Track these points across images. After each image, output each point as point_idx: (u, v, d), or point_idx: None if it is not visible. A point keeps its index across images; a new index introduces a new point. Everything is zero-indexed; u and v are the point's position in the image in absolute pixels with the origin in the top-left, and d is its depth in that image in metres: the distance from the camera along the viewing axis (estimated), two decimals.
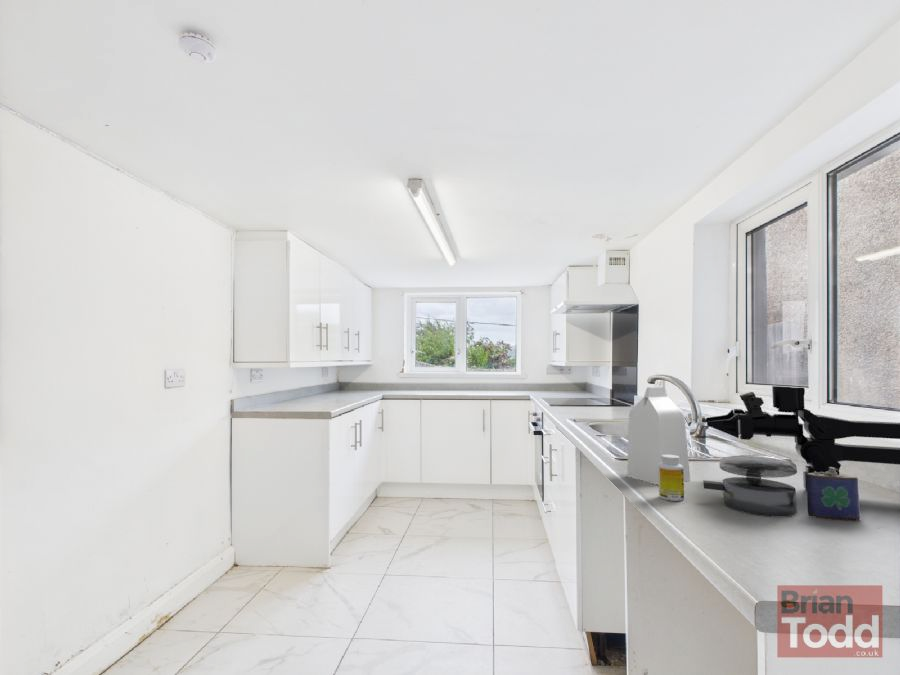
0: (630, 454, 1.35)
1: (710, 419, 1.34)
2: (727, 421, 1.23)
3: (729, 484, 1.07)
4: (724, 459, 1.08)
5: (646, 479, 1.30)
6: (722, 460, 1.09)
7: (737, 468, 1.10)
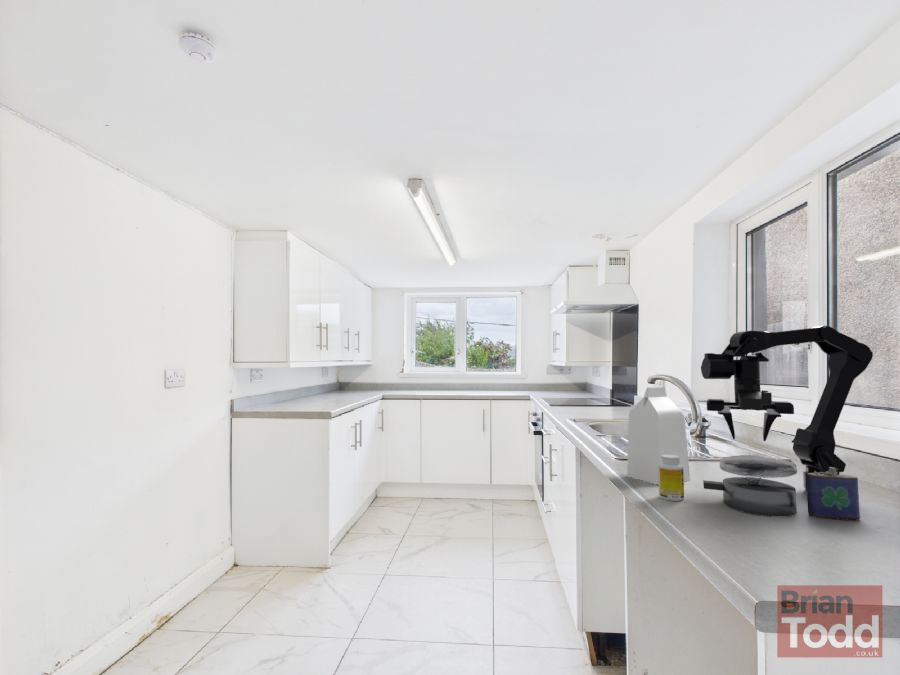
0: (630, 454, 1.35)
1: (734, 434, 1.22)
2: None
3: (729, 484, 1.07)
4: (724, 459, 1.08)
5: (646, 479, 1.30)
6: (722, 460, 1.09)
7: (737, 468, 1.10)
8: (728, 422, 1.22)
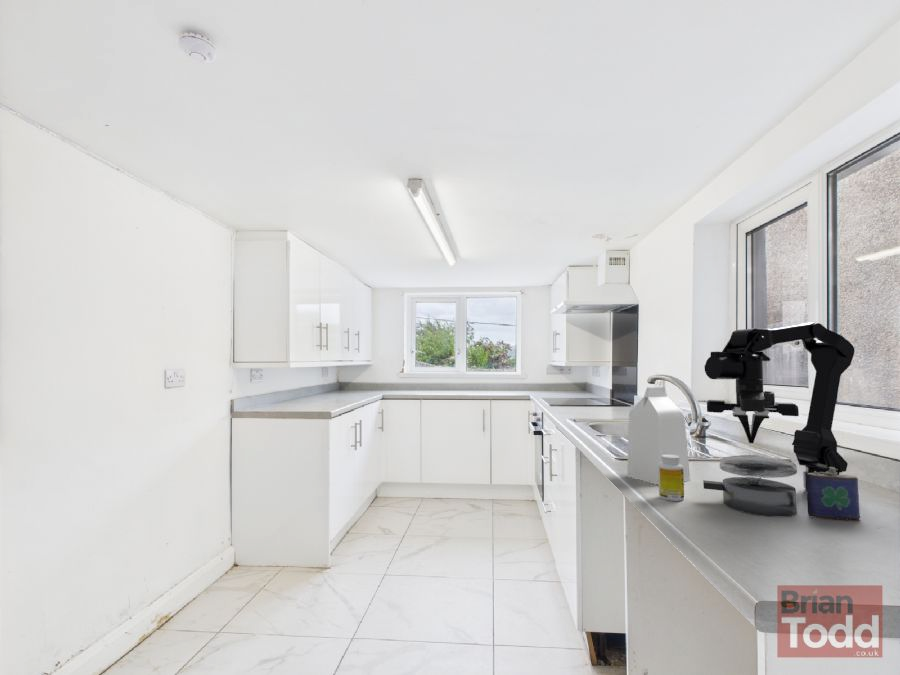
0: (630, 454, 1.35)
1: None
2: None
3: (729, 484, 1.07)
4: (724, 459, 1.08)
5: (646, 479, 1.30)
6: (722, 460, 1.09)
7: (737, 468, 1.10)
8: (744, 425, 1.15)
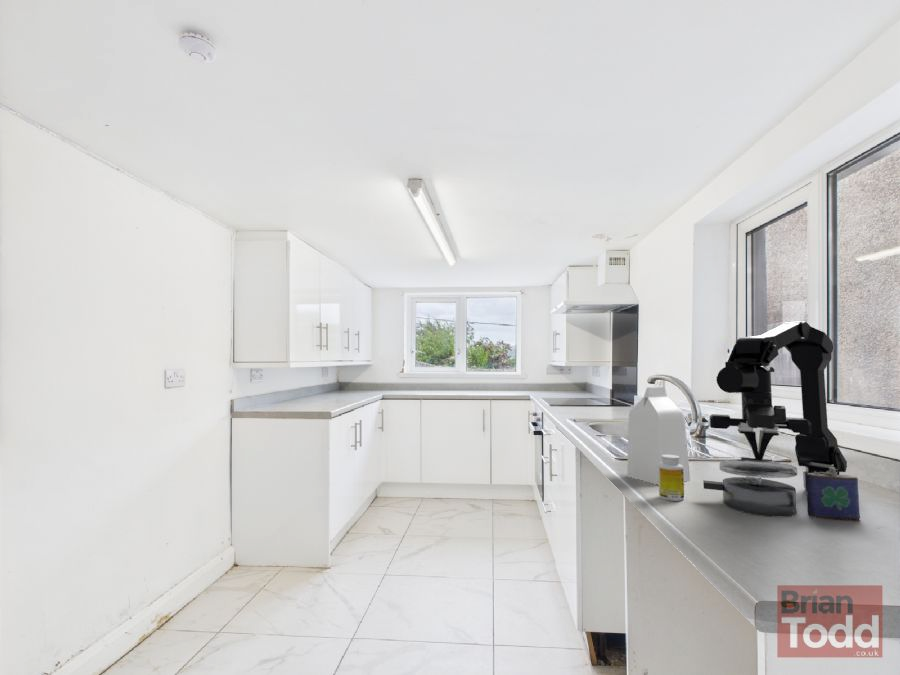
0: (630, 454, 1.35)
1: None
2: None
3: (729, 484, 1.07)
4: (724, 462, 1.08)
5: (646, 479, 1.30)
6: (722, 463, 1.09)
7: (737, 470, 1.10)
8: (751, 442, 1.04)
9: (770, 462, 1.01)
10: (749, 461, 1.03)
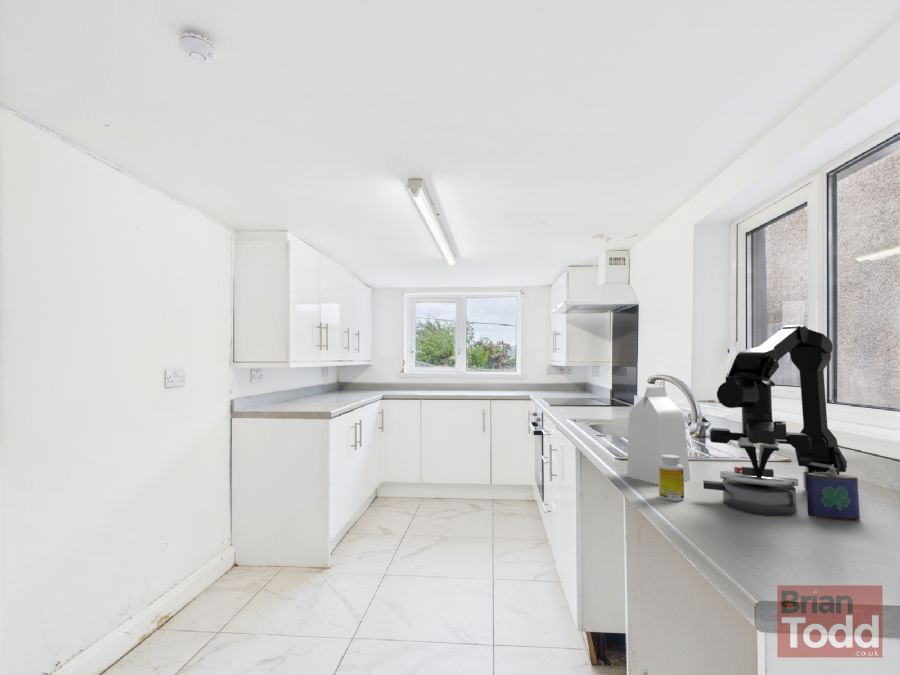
0: (630, 454, 1.35)
1: None
2: None
3: (729, 484, 1.07)
4: (725, 475, 1.07)
5: (646, 479, 1.30)
6: (723, 475, 1.08)
7: None
8: (751, 457, 1.04)
9: (772, 481, 1.00)
10: (750, 480, 1.02)
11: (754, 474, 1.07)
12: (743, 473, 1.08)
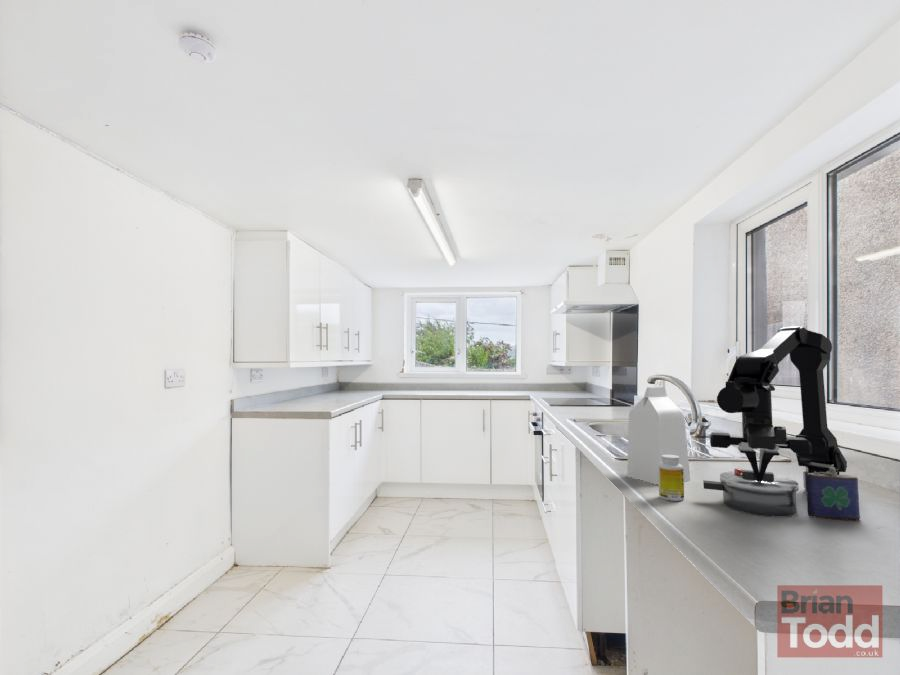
0: (630, 454, 1.35)
1: None
2: None
3: None
4: (725, 481, 1.07)
5: (646, 479, 1.30)
6: (723, 480, 1.08)
7: None
8: (751, 462, 1.04)
9: (772, 488, 1.00)
10: (751, 487, 1.02)
11: (754, 478, 1.07)
12: (743, 477, 1.08)
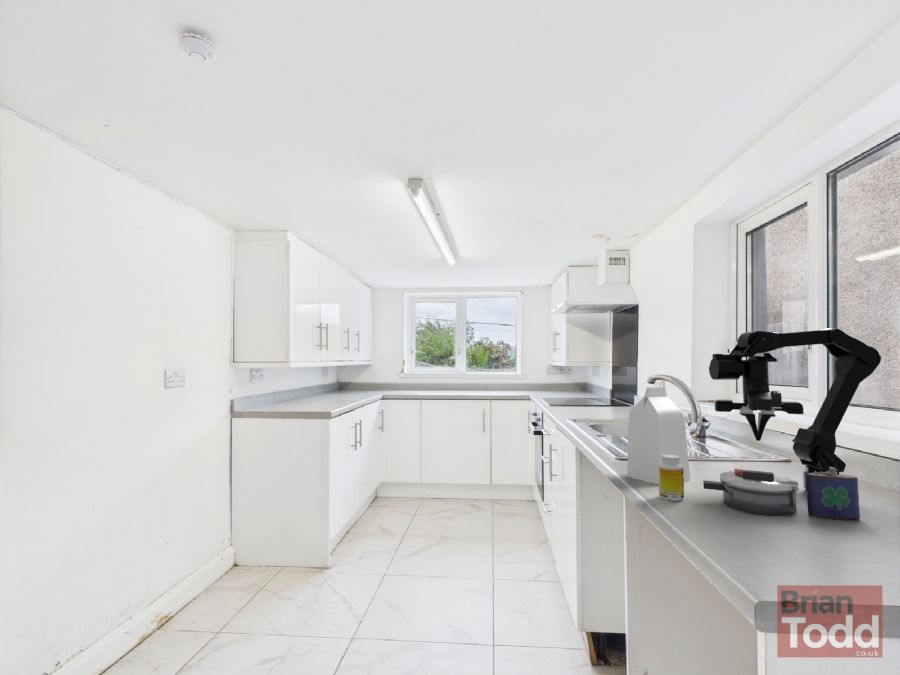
0: (630, 454, 1.35)
1: None
2: None
3: None
4: (725, 481, 1.07)
5: (646, 479, 1.30)
6: (723, 480, 1.08)
7: None
8: (751, 423, 1.20)
9: (772, 488, 1.00)
10: (751, 487, 1.02)
11: (754, 478, 1.07)
12: (743, 477, 1.08)
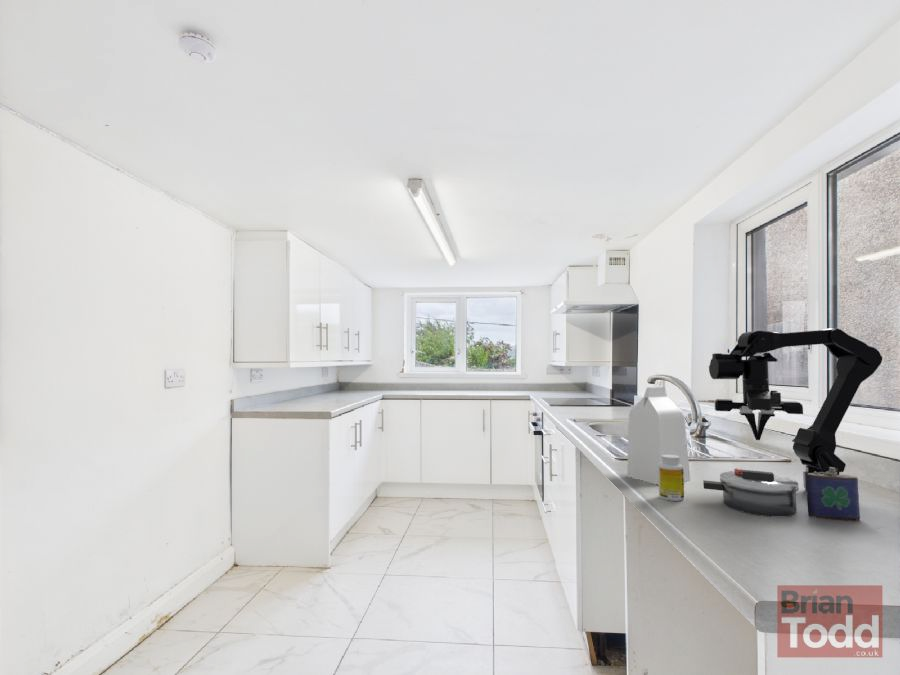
0: (630, 454, 1.35)
1: None
2: None
3: None
4: (725, 481, 1.07)
5: (646, 479, 1.30)
6: (723, 480, 1.08)
7: None
8: (751, 423, 1.20)
9: (772, 488, 1.00)
10: (751, 487, 1.02)
11: (754, 478, 1.07)
12: (743, 477, 1.08)
